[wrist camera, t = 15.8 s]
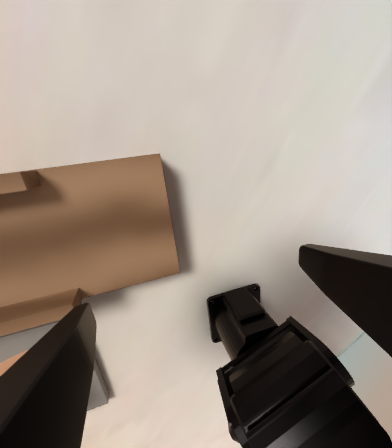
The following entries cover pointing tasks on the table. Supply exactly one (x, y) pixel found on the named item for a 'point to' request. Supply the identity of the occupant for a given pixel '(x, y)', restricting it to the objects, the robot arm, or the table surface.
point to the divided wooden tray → (80, 236)
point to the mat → (25, 339)
